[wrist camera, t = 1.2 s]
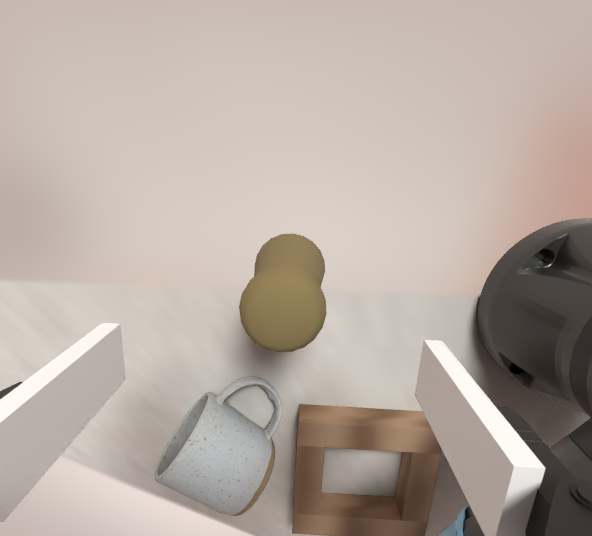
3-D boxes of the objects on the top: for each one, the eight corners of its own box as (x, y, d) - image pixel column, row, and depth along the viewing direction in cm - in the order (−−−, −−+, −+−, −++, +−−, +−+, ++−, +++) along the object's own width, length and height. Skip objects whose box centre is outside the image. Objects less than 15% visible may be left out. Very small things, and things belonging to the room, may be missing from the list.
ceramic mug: (240, 470, 36) (224, 547, 28) (173, 429, 35) (138, 497, 27) (303, 399, 34) (304, 462, 26) (233, 352, 32) (213, 404, 25)
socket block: (435, 412, 33) (445, 431, 31) (416, 517, 37) (423, 541, 34) (299, 404, 33) (298, 422, 31) (293, 509, 37) (292, 533, 34)
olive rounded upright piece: (331, 293, 30) (345, 357, 20) (264, 307, 31) (243, 377, 20) (316, 226, 29) (323, 256, 18) (246, 242, 29) (213, 281, 19)
